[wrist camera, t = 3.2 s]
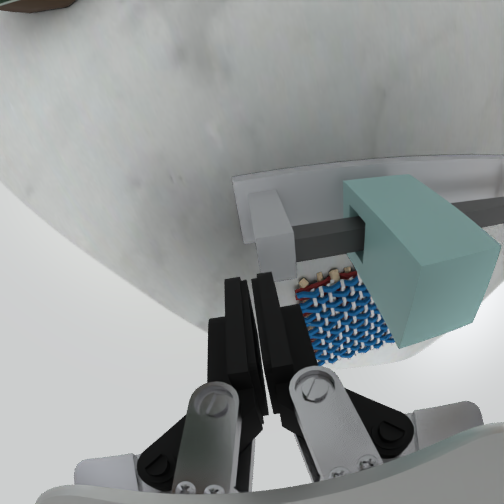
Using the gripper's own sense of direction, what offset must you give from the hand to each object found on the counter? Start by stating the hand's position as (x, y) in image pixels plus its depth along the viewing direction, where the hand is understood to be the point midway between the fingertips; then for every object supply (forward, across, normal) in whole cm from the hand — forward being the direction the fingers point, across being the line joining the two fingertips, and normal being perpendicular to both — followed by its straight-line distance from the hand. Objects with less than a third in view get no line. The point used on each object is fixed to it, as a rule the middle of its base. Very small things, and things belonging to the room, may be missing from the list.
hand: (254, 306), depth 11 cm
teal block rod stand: (+8, -13, 0) cm, 16 cm away
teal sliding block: (+5, -7, 0) cm, 9 cm away
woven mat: (+9, -8, +10) cm, 16 cm away
